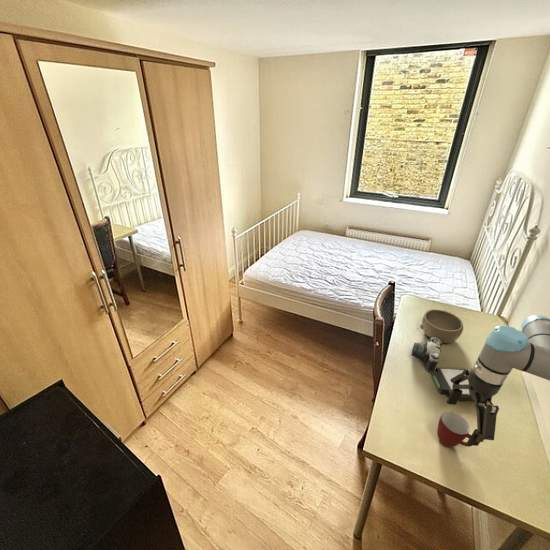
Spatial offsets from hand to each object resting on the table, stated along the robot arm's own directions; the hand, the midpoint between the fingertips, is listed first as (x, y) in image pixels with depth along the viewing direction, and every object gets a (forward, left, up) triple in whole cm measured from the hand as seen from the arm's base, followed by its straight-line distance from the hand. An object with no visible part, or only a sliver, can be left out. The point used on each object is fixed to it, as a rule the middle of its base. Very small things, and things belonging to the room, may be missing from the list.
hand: (461, 422), depth 91 cm
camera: (+38, -5, -11) cm, 40 cm away
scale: (+24, -13, -11) cm, 29 cm away
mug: (0, 0, -11) cm, 11 cm away
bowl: (+55, -18, -11) cm, 59 cm away
